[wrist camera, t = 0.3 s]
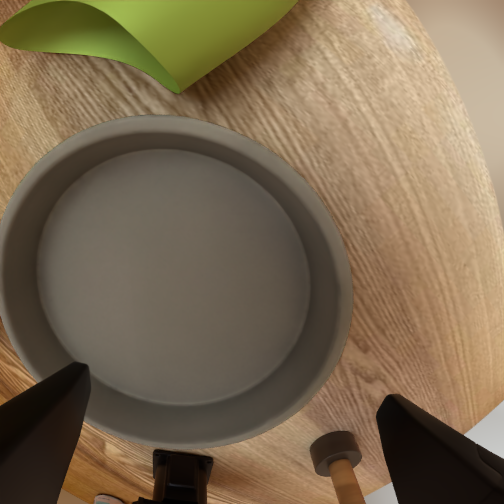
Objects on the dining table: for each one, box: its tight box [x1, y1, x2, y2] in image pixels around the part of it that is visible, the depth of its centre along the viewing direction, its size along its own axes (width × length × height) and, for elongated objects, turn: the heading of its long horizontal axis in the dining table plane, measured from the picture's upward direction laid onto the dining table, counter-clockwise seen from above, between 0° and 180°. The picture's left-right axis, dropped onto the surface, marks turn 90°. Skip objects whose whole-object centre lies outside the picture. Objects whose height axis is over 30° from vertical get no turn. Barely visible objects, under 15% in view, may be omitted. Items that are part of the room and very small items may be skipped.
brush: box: [310, 431, 366, 504], centre depth 25 cm, size 5×5×10 cm
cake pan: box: [0, 115, 354, 450], centre depth 20 cm, size 25×25×4 cm
